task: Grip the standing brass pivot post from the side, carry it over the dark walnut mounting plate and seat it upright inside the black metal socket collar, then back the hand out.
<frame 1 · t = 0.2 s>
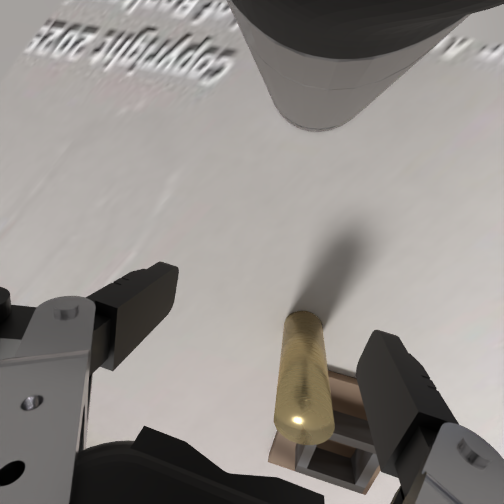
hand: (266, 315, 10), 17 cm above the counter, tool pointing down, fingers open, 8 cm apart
mounting plate: (334, 428, 34), on the counter
pivot post: (302, 327, 30), on the counter
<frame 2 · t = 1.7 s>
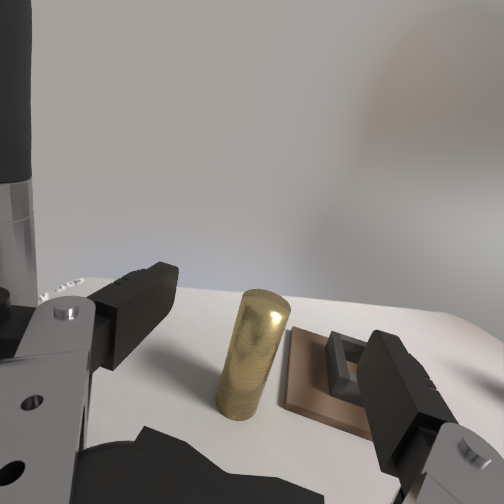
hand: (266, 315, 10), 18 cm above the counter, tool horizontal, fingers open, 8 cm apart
mounting plate: (356, 386, 33), on the counter
pivot post: (236, 400, 27), on the counter
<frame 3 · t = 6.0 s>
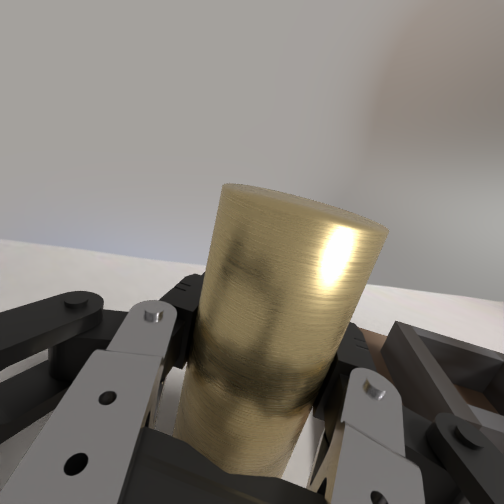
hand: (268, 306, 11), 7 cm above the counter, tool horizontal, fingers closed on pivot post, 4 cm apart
mounting plate: (456, 425, 17), on the counter
pivot post: (217, 481, 11), on the counter, touching gripper
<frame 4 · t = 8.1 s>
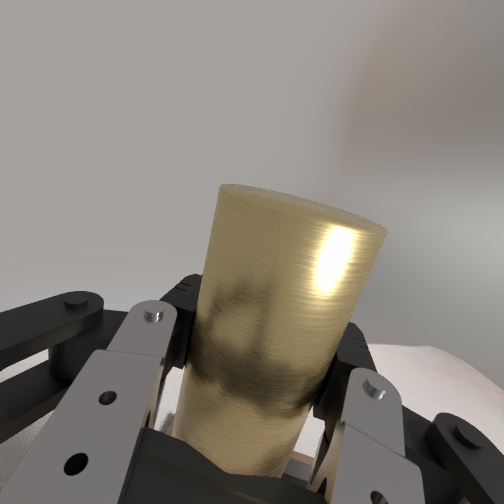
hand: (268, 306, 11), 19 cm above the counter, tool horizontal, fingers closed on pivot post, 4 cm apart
pivot post: (216, 483, 11), point 12 cm above the counter, touching gripper
when the fingers open (9 cm above the counter, at t = 10.5 s): pivot post drops 1 cm, resting on mounting plate.
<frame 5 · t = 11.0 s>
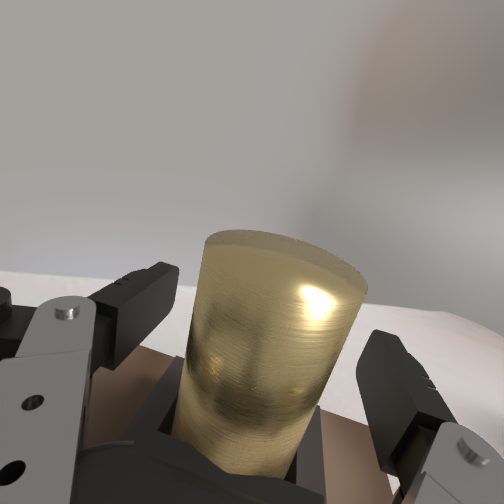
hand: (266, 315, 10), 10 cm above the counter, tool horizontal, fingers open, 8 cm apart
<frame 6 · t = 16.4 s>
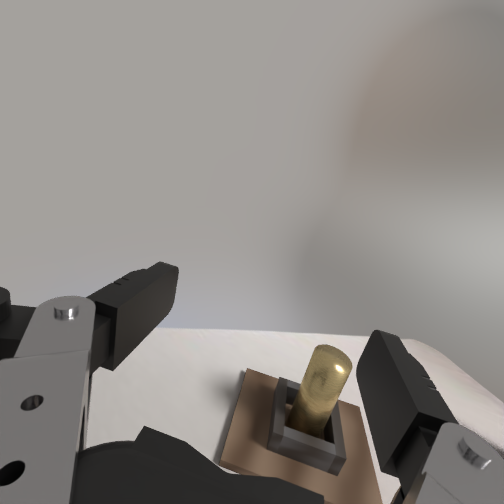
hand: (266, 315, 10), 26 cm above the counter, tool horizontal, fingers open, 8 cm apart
mounting plate: (299, 434, 34), on the counter
pivot post: (302, 429, 33), point 1 cm above the counter, touching mounting plate
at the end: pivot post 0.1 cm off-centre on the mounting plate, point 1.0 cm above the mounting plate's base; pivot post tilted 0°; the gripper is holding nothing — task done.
